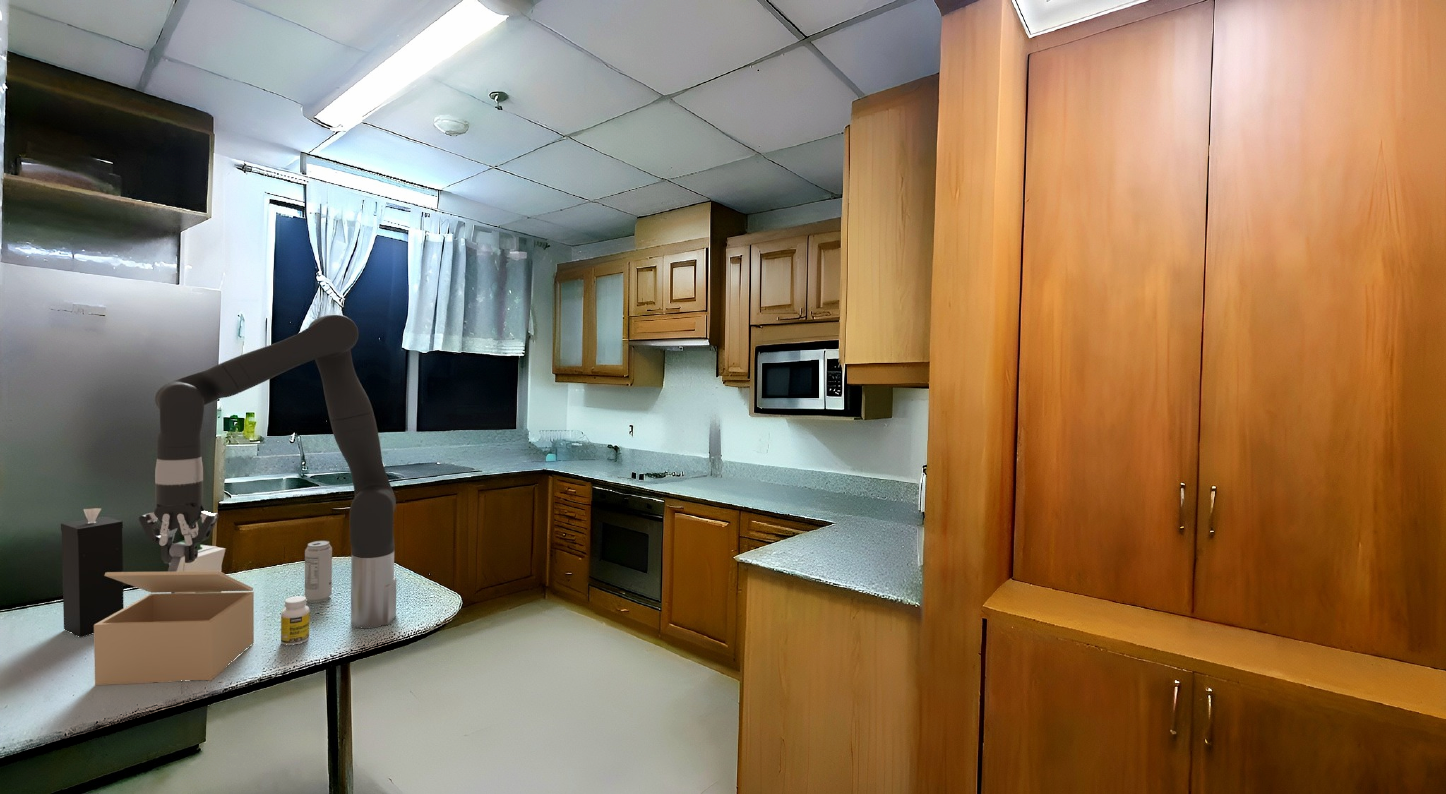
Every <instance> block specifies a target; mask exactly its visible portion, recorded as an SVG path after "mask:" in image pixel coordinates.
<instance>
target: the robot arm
mask: <svg viewBox="0 0 1446 794" xmlns="http://www.w3.org/2000/svg"><path fill="white" fill-rule="evenodd" d="M358 340H359V329H358V326H357V325H356V323H355V322H354V321H353V320H352V319H351V318H349V317H348V316H345V315H342V314H338V313H337V314H335V313H334V314H333V313H332V314H330V313H329V314H326V315H323V316H320V317H318V318H316V319H314V320H313V321H311V323H310V324H309V325H308V327H307V328H305V329H304V330H302V331H300V332H299V333H296V334H295V335H293V336H290V337H287V338H285V339H283V340H280V341H278V342H274V343H272V344H270V345H266V346H263V347H260V348H258V349H255V350H252V351H249V352H246V353H242V354H241V355H238V356H236V357H233V358H230V359H228V360H226V361H223V362H221V363H218V364H216V365H214V366H212V367H210V368H208V369H205V370H203V371H200V372H196V373H194V374H191V375H188V376H184V377H181V378H178V379H175V380H173V381H171V382H168V383H166V384H164V385H163V386H161V387H160V388H159V389H158V390H157V392H156V393H155V398H154V401H155V405H156V407H157V408H158V409H159V430H160V431H159V432H158V435H157V440H156V464H155V470H154V471H155V475H154V479H155V481H154V482H155V484H154V485H155V487H154V489H155V490H154V491H155V494H154V496H155V497H154V498H155V499H154V501H155V504H156V506H155V508H154V510H153V512H149V513H145V514H142V515H140V516H139V517H138V521H139V523H140V524H141V526H142V528H143V531H144V534H145V535H146V538H147V539H148V541H149V543H152V544H154V543H156V544H159V545H160V547H161V548H160V559H161V561H162V562H163V563H164V564H169V563H171V560H172V556H171V555H170V554H169V549H170V547H171V546H172V545H173V544H175V543H176V542H175V543H174V542H173V541H174V539H175V536H176V532H177V531H178V530H180V533H181V534H182V536H183V537H184V540H185V543H186V546H185V563H191V562H193V561H194V560H195V559H196V558H197V557H198V543H199V542H200V543H202V542H205V541H206V540H208V539H209V538H210V536H211V533H212V532H213V530H214V528H215V526H216V524H217V521H218V519H219V517H220V514H219V513H218V512H215V513H211V512H208V511H206V510H205V507H204V506H203V500H204V465H203V464H204V463H203V461H202V435H201V434H202V427H203V421H204V415H205V414H204V412H205V406H206V405H208V404H210V403H213V402H215V401H217V400H219V399H223V398H229V397H232V396H235V395H238V394H240V393H242V392H245V391H246V390H250V389H252V388H253V387H256V386H259V385H260V384H263V383H265V382H267V381H269V380H271V379H273V378H274V377H276V376H279V375H282V374H283V373H285V372H287V371H290V370H291V369H294V368H296V367H298V366H300V365H301V366H302V365H304V364H306V363H309V362H312V361H314V360H315V361H314V362H315V364H316V365H317V368H318V372H319V374H320V378H321V383H322V387H323V393H324V397H325V403H326V407H327V412H328V417H329V418H328V419H329V422H330V427H331V430H332V433H333V436H334V440H335V442H336V445H337V447H338V449H339V451H340V453H341V455H342V457H343V458H344V460H345V462H346V464H347V466H348V467H349V471H350V474H351V479H352V484H353V491H354V492H353V493H354V498H353V500H352V502H351V504H350V507H349V508H350V509H349V543H350V547H351V563H350V566H351V567H350V568H351V571H350V575H351V576H350V625H351V626H352V625H353V626H352V627H354V626H355V627H354V628H357V627H360V628H359V629H370V628H369V627H373V628H376V627H378V628H379V627H381V625H382V626H388V625H389V624H390V623H391V622H392V621H393V619H394V618H395V617H396V616H397V578H395V537H394V512H395V509H396V506H397V500H396V496H395V493H394V490H393V488H392V486H391V483H390V481H389V478H388V475H387V472H386V469H385V466H384V462H383V461H384V460H383V455H382V449H381V442H380V437H379V431H378V427H377V421H376V417H375V414H374V410H373V406H372V403H371V401H370V399H369V396H368V395H367V394H368V393H366V390H365V389H364V388H363V386H362V383H361V382H360V379H359V377H358V376H357V373H356V370H355V367H354V363H353V358H352V352H351V351H352V350H351V349H353V347H354V346H355V345H356V344H357V342H358ZM200 519H201V524H202V525H201V527H200V529H199V524H198V522H199V520H200ZM158 521H159V522H160V523H161V525H160V526H161V527H160V526H159V523H158ZM361 627H362V628H361Z"/></svg>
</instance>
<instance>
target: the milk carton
mask: <svg viewBox="0 0 1446 794" xmlns="http://www.w3.org/2000/svg"><path fill="white" fill-rule="evenodd" d="M179 542H183V543H185V539H183V540H179ZM226 550H227V548H224V547H218V546H215V545H205V544H201V542H199V543H198V557H197V558H196V559H195V560H194V561H193V562H191V563H185V556H184V557H182V558H181V560H180V563H179V566H178V569H177V571H220V572H222V565H223V560H224V557H225V552H226ZM168 566H170V563H168ZM219 592H222V591H219ZM170 593H213V592H170Z"/></svg>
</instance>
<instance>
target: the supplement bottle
mask: <svg viewBox="0 0 1446 794" xmlns="http://www.w3.org/2000/svg"><path fill="white" fill-rule="evenodd" d="M284 606H285V608H284V609H283V610H282V611H281V612H280V613H281V614H280V643H281V644H282V645H283V644H285V645H284V646H287V645H292V646H294V645H293V644H298V645H300V644H299V643H301V642H304V643H306V642H307V641H308V640H309V638H310V612H311V611H310V607H309V606H308V605H307V599H306V597H305V595H303V596H302V595H296V596H291V597H288V598H286V599H285V600H284ZM307 639H308V640H307ZM306 640H307V641H306ZM286 644H287V645H286ZM301 644H302V643H301Z"/></svg>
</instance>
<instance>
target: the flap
mask: <svg viewBox="0 0 1446 794" xmlns="http://www.w3.org/2000/svg"><path fill="white" fill-rule="evenodd" d="M185 546H186V543H183V542H180V541H178V542H175V544H173V545H172V546H171V547H170V549H169V554H170V555H171V556H172V560H171V563H170V565H168V566H169V567H168V568H167V571H123V572H107V573H105V575H104V576H107V577H109V578H112V579H115V580H118V581H121V582H123V584H127V585H130V586H132V587H135V588H138V589H140V590H143V591H146V592H149V593H150V594H156V593H171V592H219V591H221V592H254V587H251V586H250V585H248V584H246V583H243V582H241V581H239V580H237V579H235V578H233V577H231V576H229V575H227V574H226V573H224V572H222V571H221V572H220V571H177V569H178V566H179V563H180V560H181V558H182V557H184V556H185Z"/></svg>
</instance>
